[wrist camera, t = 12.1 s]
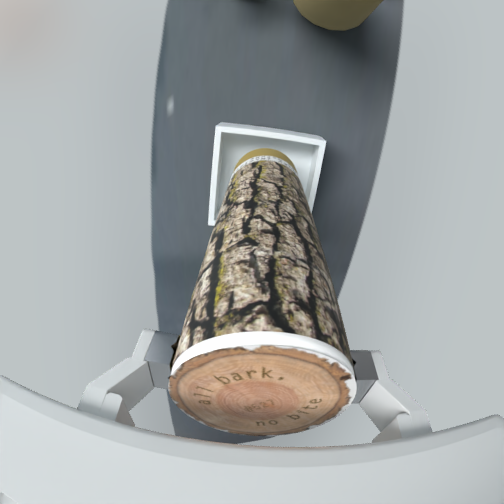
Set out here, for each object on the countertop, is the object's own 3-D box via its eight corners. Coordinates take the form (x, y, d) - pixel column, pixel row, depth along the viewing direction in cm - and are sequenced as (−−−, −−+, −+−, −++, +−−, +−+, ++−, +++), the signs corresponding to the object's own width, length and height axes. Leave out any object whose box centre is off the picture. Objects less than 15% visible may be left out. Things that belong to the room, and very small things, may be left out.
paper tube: (220, 168, 30) (130, 376, 9) (275, 134, 28) (308, 310, 7) (255, 217, 33) (239, 444, 12) (308, 187, 31) (377, 407, 10)
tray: (221, 122, 31) (215, 125, 28) (319, 135, 31) (326, 141, 28) (213, 211, 36) (208, 224, 33) (302, 223, 37) (306, 237, 34)
